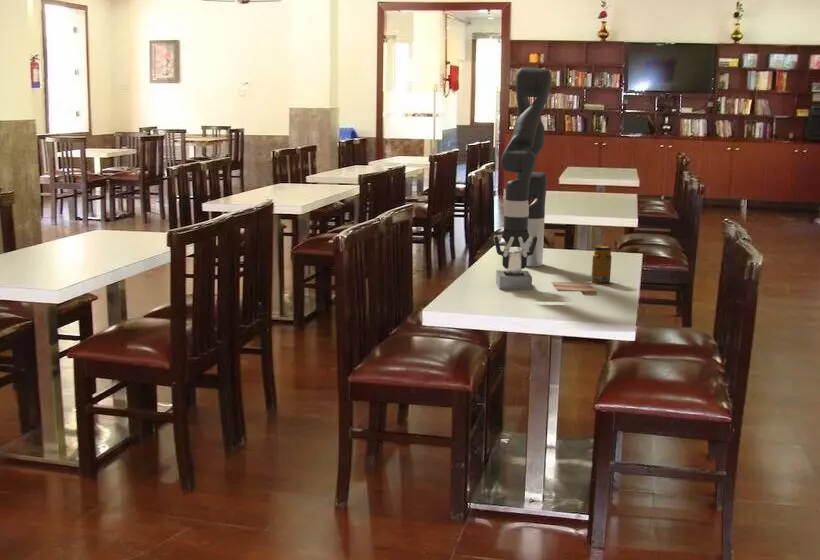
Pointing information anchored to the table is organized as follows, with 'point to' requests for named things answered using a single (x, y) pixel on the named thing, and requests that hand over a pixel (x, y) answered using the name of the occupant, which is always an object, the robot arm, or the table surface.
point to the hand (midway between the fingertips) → (514, 267)
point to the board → (574, 287)
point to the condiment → (602, 266)
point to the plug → (514, 263)
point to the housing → (513, 281)
